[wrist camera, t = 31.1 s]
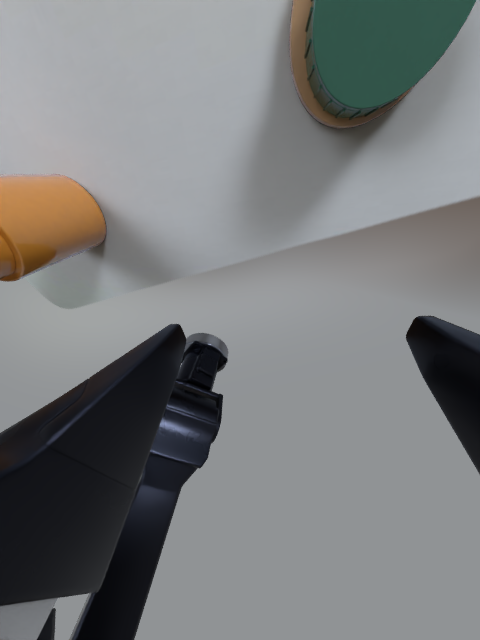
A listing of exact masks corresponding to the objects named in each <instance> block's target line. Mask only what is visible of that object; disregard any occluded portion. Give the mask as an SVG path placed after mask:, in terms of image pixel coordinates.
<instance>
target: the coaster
mask: <svg viewBox="0 0 480 640" xmlns="http://www.w3.org/2000/svg"><path fill="white" fill-rule="evenodd" d="M311 5H312V2H311V0H293V6H292V13H291V21H290V36H289V51H290V64H291V72H292V76H293V81H294V84H295V87H296V90H297V93H298V96H299V98H300V100H301V102H302V104H303V105H304V107H305V108H306V110H307V111H308V112H309V113H310V114H311V115H312V116H313V117H314V118H315V119H316V120H318V121H319V122H320V123H322V124H325V125H327V126H330V127H334V128H350V127H355V126H359V125H362V124H364V123H366V122H369V121H371V120H373V119H375V118H377V117H378V116H380V115H382V114H383V113H385V112H386V111H388V110H389V109H390V108H392V107H393V106H394V105H395V104H397V103H398V102H399V101H400V100H401V99H402V98H403V97H404V96H405V95H406V94H407V93H408V92H409V91H410V90H411V89H412V88H413V87H414V86H415V85H416V84H415V85H414V86H413V87H412V88H410V89H409V90H408V91H406V92H405V93H404V94H402V95H401V96H399V97H398V99H397V100H396V101H394V102H392V103H391V104H389V105H387V106H385V107H383V108H382V109H381V107H380V108H379V109H378V110H377V111H375V112H373V113H372V114H370V115H368V116H366V117H365V115H364V116H361V117H358V118H353V119H352V120H349V118H340V117H337V118H335V116H334V115H332V114H330V113H329V112H327V111H326V110H325V111H323V109H324V108H323V107H322V106H321V105H320V104H319V103H318V101H317V99H316V98H315V99H314V94H313V92H312V89H311V86H310V83H309V81H307V77H308V75H307V70H306V59H304V54H305V43H306V32H305V28H306V24H307V20H308V16H309V12H310V7H311Z"/></svg>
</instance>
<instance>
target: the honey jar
mask: <svg viewBox="0 0 480 640" xmlns="http://www.w3.org/2000/svg"><path fill="white" fill-rule="evenodd" d="M105 236H106V223H105V219H104V216H103V214H102V212H101V210H100V208H99V206H98V204H97V203H96V201H95V200H94V199H93V197H92V196H91V195H90V194H89V193H88V192H87V191H86V190H85V189H84V188H83V187H82V186H81V185H79V184H78V183H77V182H75V181H73V180H72V179H70V178H68V177H66V176H63V175H59V174H0V281H16V280H19V279H21V278H23V277H26V276H28V275H30V274H33V273H35V272H37V271H40V270H42V269H45V268H47V267H49V266H52V265H54V264H56V263H59V262H61V261H63V260H66V259H68V258H70V257H73V256H75V255H77V254H80V253H82V252H84V251H87V250H89V249H91V248H94V247H96V246H98V245H100V244H101V243H102V242H103V241H104V239H105Z"/></svg>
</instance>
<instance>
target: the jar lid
mask: <svg viewBox="0 0 480 640" xmlns="http://www.w3.org/2000/svg"><path fill="white" fill-rule="evenodd" d="M311 2H312V5H311V7H310V12H309V16H308V20H307V24H306V28H305V32H306V43H305V54H304V59H306V70H307V75H308V77H307V81H309V83H310V86H311V89H312V92H313V94H314V99H315V98H316V99H317V101H318V103H319V104H320V105H321V106H322V107H323V108H324V109H323V111H325V110H326V111H327V112H329V113H330V114H332V115H334V116H335V118H337V117H340V118H349V120H352V119H353V118H358V117H361V116H364V115H365V117H366V116H368V115H370V114H372V113H373V112H375V111H377V110H378V109H379V108H380V107H381V109H382V108H383V107H385V106H387V105H389V104H391V103H392V102H394V101H396V100H397V99H398V97H399V96H401V95H402V94H404V93H405V92H406V91H408V90H409V89H410V88H412V87H413V86H414V85H415V84H417V83H418V81H419V80H421V79H422V78H423V77H424V76H425V75H426V74H427V72H428V71H429V70H430V69H431V68H432V67H433V66H434V65H435V64H436V62H437V61H438V60H439V59H440V58H441V56H442V55H443V54H444V53H445V51H446V50H447V48H448V47H449V46H450V44H451V43H452V41H453V40H454V39H455V37H456V35H457V34H458V32H459V31H460V29H461V27H462V26H463V24H464V22H465V21H466V19H467V17H468V15H469V13H470V11H471V10H472V8H473V6H474V4H475V2H476V0H311Z"/></svg>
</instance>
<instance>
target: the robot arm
mask: <svg viewBox="0 0 480 640" xmlns="http://www.w3.org/2000/svg"><path fill="white" fill-rule="evenodd" d="M406 340H407V342H408V345H409V346H410V349H411V351H412V354H413V356H414V358H415V360H416V363H417V365H418V367H419V370H420V372H421V374H422V376H423V378H424V380H425V382H426V383H427V385H428V387H429V389H430V390H431V392H432V394H433V395H434V397H435V398H436V401H437V402H438V404H439V406H440V407H441V409H442V411H443V412H444V414H445V416H446V418H447V419H448V421H449V423H450V424H451V426H452V428H453V429H454V431H455V433H456V435H457V436H458V438H459V440H460V441H461V443H462V445H463V447H464V448H465V450H466V452H467V453H468V455H469V457H470V458H471V460H472V462H473V464H474V465H475V467H476V469H477V470H478V472H479V474H480V335H479V334H477V333H474V332H472V331H469V330H467V329H464V328H462V327H459V326H456V325H454V324H451V323H449V322H446V321H444V320H441V319H439V318H436V317H434V316H418V317H416V318H415V319H414V320H413V322H412V324H411V326H410V328H409V330H408V332H407V334H406ZM185 345H186V337H185V335H184V332H183V330H182V328H181V326H180V325H179V324H170V325H168V326H167V327H165V328H164V329H162V330H161V331H159V332H158V333H156V334H155V335H153V336H152V337H150V338H149V339H147V340H146V341H144V342H143V343H141V344H140V345H138V346H137V347H135V348H134V349H132V350H131V351H129V352H128V353H126V354H125V355H123V356H122V357H120V358H119V359H117V360H116V361H114V362H112V363H111V364H110V365H108V366H106V367H105V368H104V369H102V370H100V371H99V372H97V373H96V374H94V375H93V376H92V377H90V378H89V379H87V380H85V381H84V382H83V383H81V384H79V385H78V386H77V387H75V388H73V389H72V390H70V391H69V392H67V393H65V394H64V395H62V396H61V397H59V398H57V399H56V400H54V401H53V402H51V403H49V404H48V405H46V406H44V407H43V408H41V409H39V410H38V411H36V412H34V413H33V414H31V415H29V416H28V417H26V418H25V419H23V420H21V421H19V422H18V423H16V424H15V425H13V426H11V427H10V428H8V429H6V430H4V431H3V432H1V433H0V640H54V633H55V611H56V609H55V608H53V606H54V604H55V602H56V600H57V598H59V597H67V596H73V595H80V594H87V593H89V595H88V597H87V600H86V602H85V604H84V607H83V609H82V611H81V614H80V616H79V618H78V621H77V623H76V625H75V627H74V630H73V632H72V634H71V637H70V639H69V640H134V638H135V635H136V632H137V629H138V625H139V622H140V619H141V616H142V612H143V609H144V606H145V603H146V599H147V597H148V593H149V590H150V587H151V584H152V580H153V577H154V574H155V570H156V568H157V564H158V561H159V558H160V555H161V551H162V548H163V545H164V541H165V538H166V535H167V532H168V529H169V526H170V523H171V519H172V516H173V513H174V509H175V506H176V503H177V500H178V497H179V494H180V491H181V487H182V486H183V484H184V483H185V482H186V481H187V480H188V479H189V477H190V476H191V475H192V474H193V473H194V472H195V471H196V469H197V468H201V467H202V466H203V464H204V463H205V461H206V460H207V458H208V454H209V449H210V445H211V443H213V442H214V440H215V438H216V436H217V434H218V431H219V427H220V423H221V415H222V402H223V401H222V400H223V395H222V394H217V393H214V392H212V388H213V384H214V380H215V377H216V373H217V370H218V369H220V368H221V367H222V366H223V365H225V364H226V363H227V361H228V359H227V358H226V357H224V356H222V355H221V354H219V353H217V352H216V351H214V350H212V349H210V348H209V347H207V346H205V345H203V344H202V343H200V342H198V341H194V342H193V343H192V344H191V345H190V346H189V347H188V348H187V349H186V351H185V352H184V349H185ZM181 363H182V365H181ZM180 365H181V367H180Z"/></svg>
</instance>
